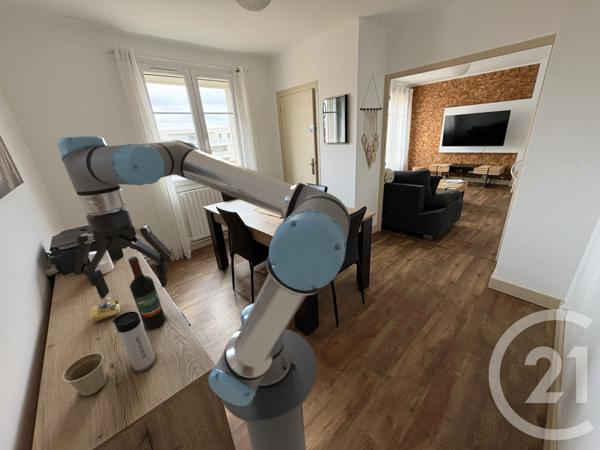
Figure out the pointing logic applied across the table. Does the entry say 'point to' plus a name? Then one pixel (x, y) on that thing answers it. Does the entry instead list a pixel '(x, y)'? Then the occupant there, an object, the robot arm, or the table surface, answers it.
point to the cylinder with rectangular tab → (103, 262)
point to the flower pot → (86, 374)
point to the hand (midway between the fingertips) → (135, 289)
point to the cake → (104, 310)
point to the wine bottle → (146, 297)
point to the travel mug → (135, 340)
